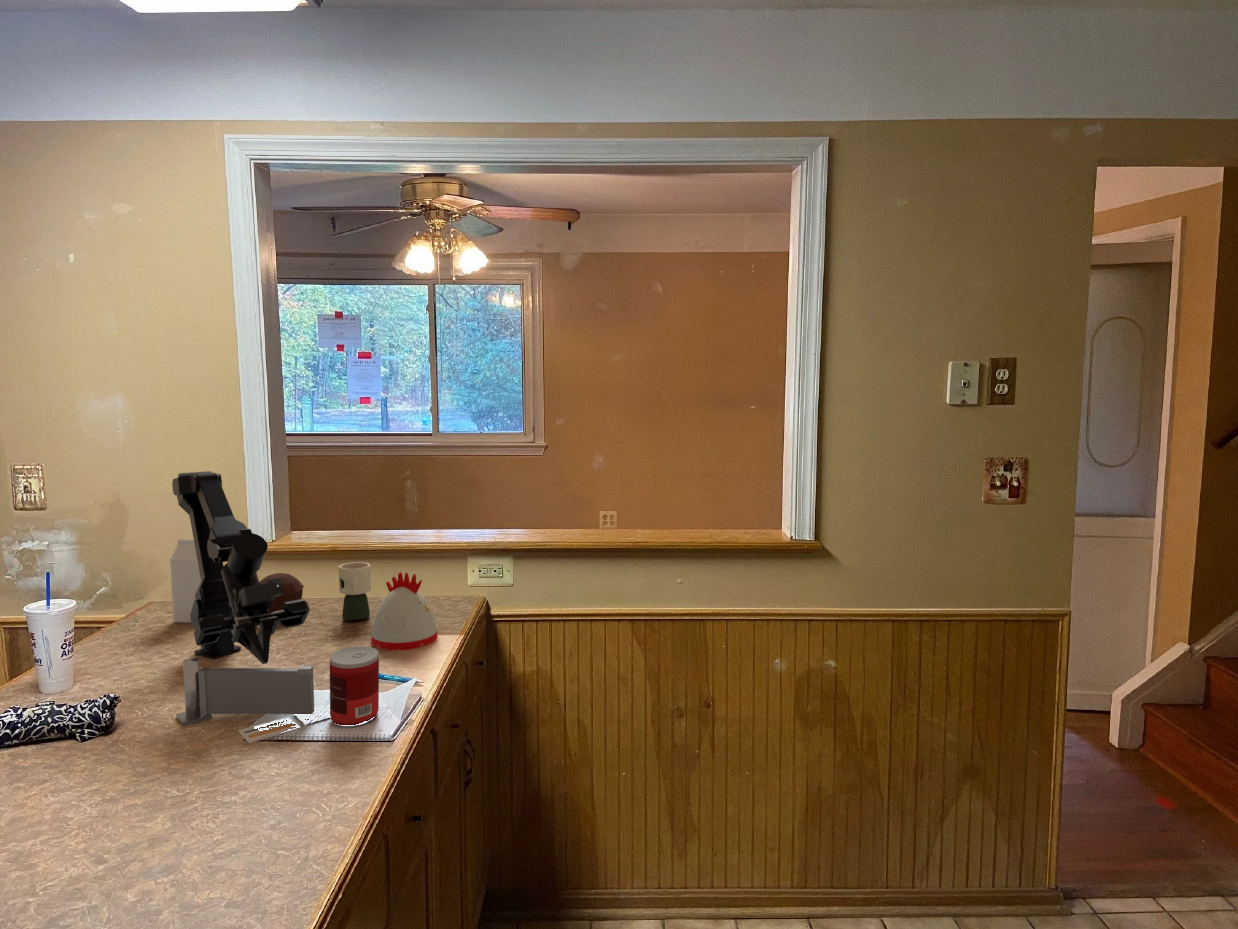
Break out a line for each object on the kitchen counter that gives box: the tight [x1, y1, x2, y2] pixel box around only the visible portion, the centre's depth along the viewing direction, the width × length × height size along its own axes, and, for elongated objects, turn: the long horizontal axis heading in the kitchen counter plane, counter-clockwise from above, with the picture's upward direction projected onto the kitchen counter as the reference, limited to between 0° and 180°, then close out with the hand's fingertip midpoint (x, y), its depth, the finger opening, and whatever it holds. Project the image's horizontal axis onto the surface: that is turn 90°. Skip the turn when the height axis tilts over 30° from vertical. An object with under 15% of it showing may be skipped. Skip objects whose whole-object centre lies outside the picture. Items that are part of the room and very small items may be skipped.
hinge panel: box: [198, 665, 315, 715], centre depth 130 cm, size 18×2×8 cm, turn 90°
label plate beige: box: [238, 720, 296, 744], centre depth 127 cm, size 8×5×1 cm, turn 132°
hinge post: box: [175, 657, 213, 727], centre depth 130 cm, size 4×4×10 cm
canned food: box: [329, 645, 380, 726], centre depth 131 cm, size 8×8×11 cm
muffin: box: [259, 572, 305, 612], centre depth 186 cm, size 12×11×10 cm
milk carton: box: [169, 538, 201, 623], centre depth 183 cm, size 7×7×19 cm
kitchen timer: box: [370, 571, 438, 651], centre depth 170 cm, size 14×14×15 cm
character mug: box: [338, 561, 372, 622], centre depth 184 cm, size 11×7×13 cm, turn 16°
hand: (265, 662), depth 139 cm, fingers closed
